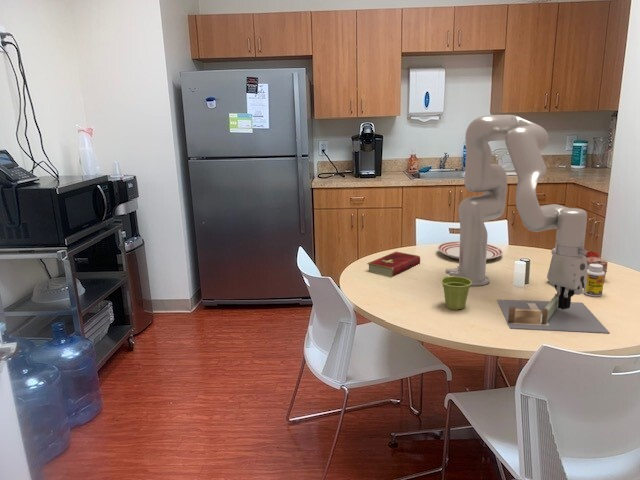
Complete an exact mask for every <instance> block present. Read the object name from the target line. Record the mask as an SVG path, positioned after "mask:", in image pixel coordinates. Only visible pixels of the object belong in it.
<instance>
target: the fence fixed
mask: <svg viewBox="0 0 640 480" xmlns="http://www.w3.org/2000/svg"><path fill="white" fill-rule="evenodd" d="M547 311H548V309H546V308H544V309H543V315H542V324H546V321H547ZM540 320H541V310H533V309H516V308H515V307H509V315H508V322H509V323H526V324H540Z"/></svg>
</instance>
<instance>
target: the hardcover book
mask: <svg viewBox="0 0 640 480" xmlns="http://www.w3.org/2000/svg"><path fill="white" fill-rule="evenodd" d="M366 263H367V262H366ZM418 264H419V265H420V264H421V256H420V255H416V254H411V253H406V252H400V251H394V252H392V253H389V254H387V255H385V256H381V257H380V258H379V257H378V258H377V259H374V260H373V261H370V262H368V263H367V265H368V272H369V271H370V273H374V274H378V275H382V276H387V277H391V278H394V277H395V276H398V275H400V274H402V273H404V272H406V271H408V270H410V269H413V268H415V267H417V266H419V265H418ZM416 265H417V266H416ZM414 266H415V267H414ZM412 267H413V268H412Z"/></svg>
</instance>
